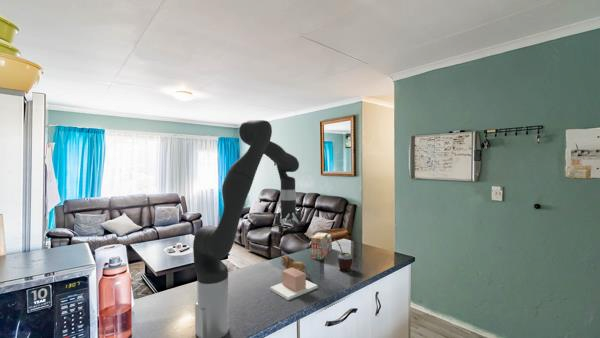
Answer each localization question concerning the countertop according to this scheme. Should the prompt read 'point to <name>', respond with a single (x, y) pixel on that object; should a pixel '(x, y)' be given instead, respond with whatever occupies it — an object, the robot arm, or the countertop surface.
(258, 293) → the countertop surface
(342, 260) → the mate gourd
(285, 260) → the lion figurine
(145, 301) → the countertop surface
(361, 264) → the countertop surface
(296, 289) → the terracotta brick
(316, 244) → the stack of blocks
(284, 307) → the countertop surface
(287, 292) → the baseplate
